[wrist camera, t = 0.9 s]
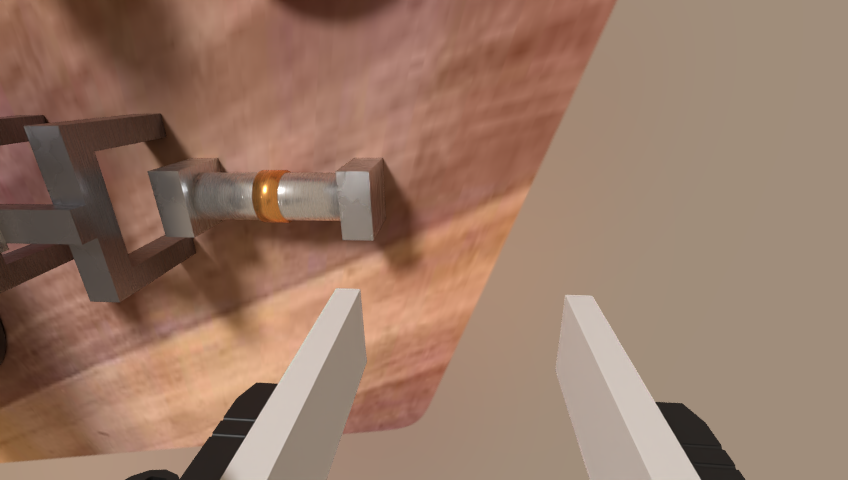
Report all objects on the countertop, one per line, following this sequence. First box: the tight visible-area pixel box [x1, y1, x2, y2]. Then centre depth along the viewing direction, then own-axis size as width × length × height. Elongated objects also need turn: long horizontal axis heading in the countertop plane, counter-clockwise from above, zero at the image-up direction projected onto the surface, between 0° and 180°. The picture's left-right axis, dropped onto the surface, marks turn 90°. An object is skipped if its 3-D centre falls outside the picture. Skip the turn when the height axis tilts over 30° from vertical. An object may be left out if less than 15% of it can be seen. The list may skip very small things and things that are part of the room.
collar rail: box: [0, 114, 196, 302], centre depth 26 cm, size 11×11×9 cm
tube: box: [148, 158, 386, 241], centre depth 27 cm, size 14×4×4 cm, turn 91°
